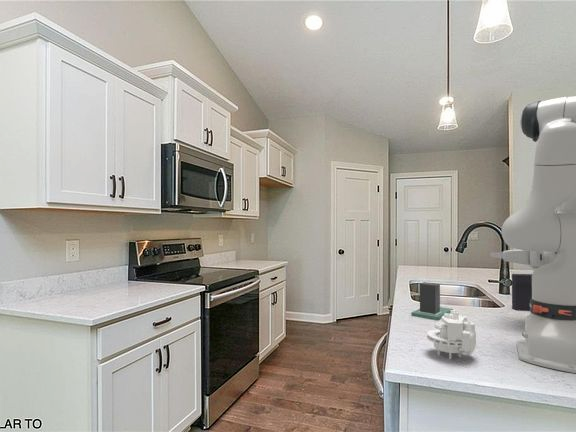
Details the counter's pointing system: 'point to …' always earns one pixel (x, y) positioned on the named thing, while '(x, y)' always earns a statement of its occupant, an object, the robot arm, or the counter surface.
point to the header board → (431, 316)
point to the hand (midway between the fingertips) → (493, 254)
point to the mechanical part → (453, 334)
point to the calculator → (521, 291)
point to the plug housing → (430, 298)
